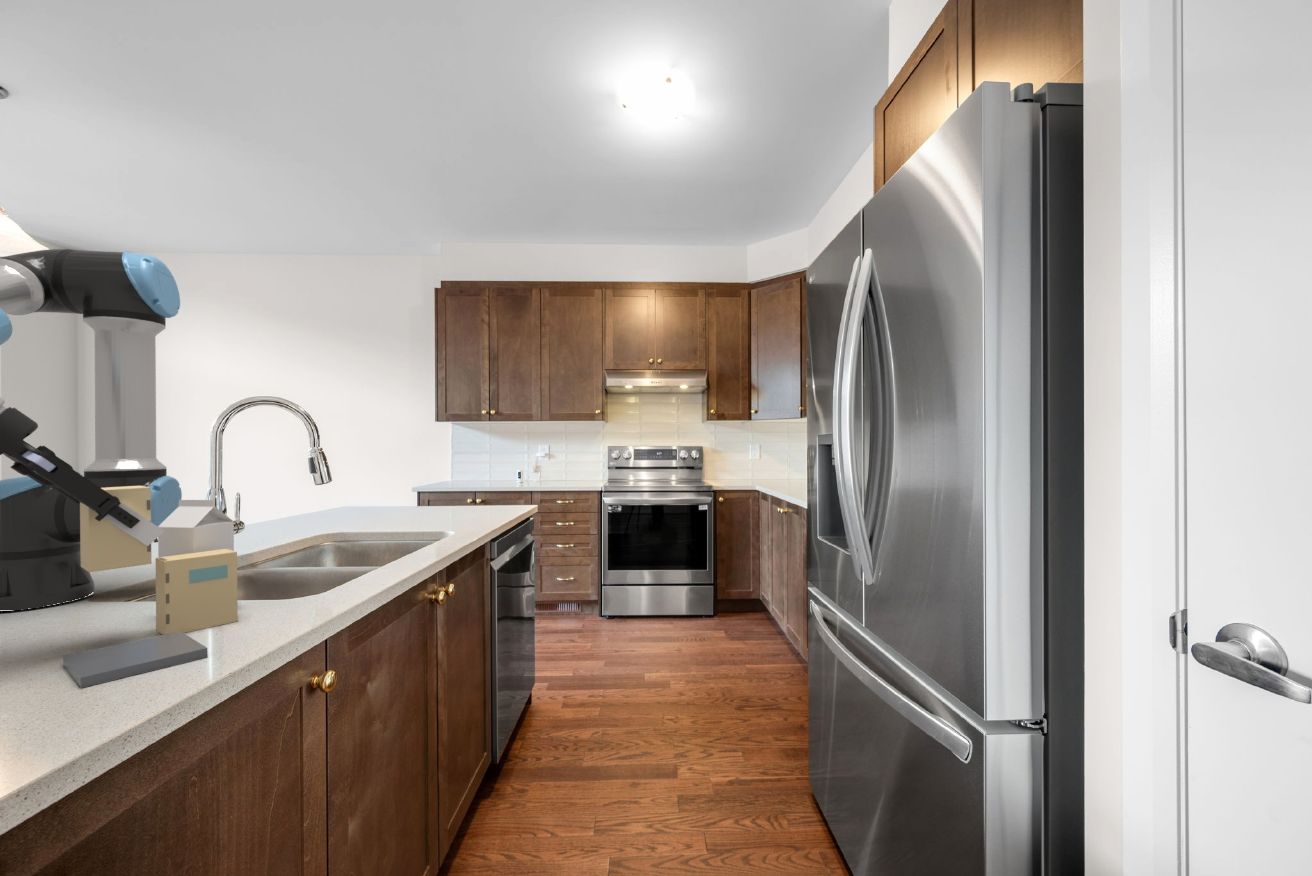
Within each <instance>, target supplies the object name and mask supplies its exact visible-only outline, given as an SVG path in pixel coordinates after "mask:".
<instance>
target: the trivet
mask: <svg viewBox="0 0 1312 876" xmlns="http://www.w3.org/2000/svg"><path fill="white" fill-rule="evenodd" d="M205 658H208V647H207V646H205V645H204V644H202V643H200V642H199V641H197V640H195V639H194V638H192V637H191V636H189V635H188V634H186V633H183V632H181V631H179V632H174V633H170V634H165V635H162V634H161V635H156V636H152V637H145V638H142V639H137V640H132V641H128V642H122V643H117V644H113V645H108V646H103V647H99V648H95V649H90V650H89V649H88V650H84V651H79V652H75V653H70V654H66V655H63V656H62V666H63V667H64V669H65V670H66V671H67V673H68V674H69V675H70V676H71V678H72V679H73V680H74V682H75V683H76V684H77V686H79V688H80V689H84V688H87V687H92V686H95V685H99V684H103V683H106V682H107V683H108V682H112V681H115V680H119V679H124V678H128V677H129V678H130V677H132V676H137V675H140V674H144V673H148V672H149V673H150V672H152V671H156V670H160V669H165V668H168V667H169V668H170V667H173V666H178V665H181V664H185V663H189V662H194V661H198V660H202V659H205Z"/></svg>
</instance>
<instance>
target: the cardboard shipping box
mask: <svg viewBox="0 0 1312 876" xmlns="http://www.w3.org/2000/svg"><path fill="white" fill-rule="evenodd" d="M238 610H239V609H238V552H237V551H235V550H234V551H232V550H229V549H221V550H213V551H205V552H197V553H190V554H182V555H174V556H166V557H155V631H156V632H157V633H159V634H161V635H165V634H170V633H174V632H179V631H181V632H183V633H184V634H186V633H190V632H195V631H198V630H203V629H208V628H213V627H216V626H217V627H218V626H223V625H227V624H232V623H236V622H237V623H238V621H239V620H238V615H239V613H238Z"/></svg>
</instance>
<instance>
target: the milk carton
mask: <svg viewBox="0 0 1312 876" xmlns="http://www.w3.org/2000/svg"><path fill="white" fill-rule="evenodd" d="M158 527H159V528H161V529H162V530H164V532H163V533H162V534H161V535H160V536H159V537H158V538H157V539H158V540H157V541H158V542H157V543H158V545H157V546H158V548H157V549H158V550H157V551H158V553H157V555H158V557H166V556H174V555H182V554H190V553H197V552H205V551H213V550H221V549H229V550H232V551H235V548H234V547H235V546H234V545H235V544H234V543H235V539H234V537H235V536H234V534H235V533H234V529H235V527H234V521H233V519H231V518H230V517H229V516H228V515H226V514H225V513H224V512H222V511H221V510H220V509H219V508H217V507H216V500H215V499H181V500H179V507H178V508H177V509H176V510H175V511H173V512H172V513H171V514H170V515H169V516H168V517H167V518H166V519H165V520H164V521H163V522H162V523H161V524H160V525H159V526H158ZM158 557H157V558H158Z"/></svg>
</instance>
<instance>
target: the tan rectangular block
mask: <svg viewBox="0 0 1312 876" xmlns="http://www.w3.org/2000/svg"><path fill="white" fill-rule="evenodd" d="M102 489H103V490H105V491H106V492H108V493H109V494H111V495H112V496H116V497H117V498H118V499H119V501H120V502H121V503H123V504H125V505H126V506H128V507H129V508H131V509H132V510H134V511H135V512H137V513H138V514H140V515H141V516H143V517H144V518H146V519H147V520H149V521H150V522H151V487H145V486H124V487H106V488H102ZM104 501H105V500H104ZM104 501H103V502H104ZM100 504H101V503H100ZM100 504H99V505H100ZM99 505H98V506H99ZM97 516H98V513H97V512H96V511H94V510H92V509H91V508H89V507H87V506H86V505H84V504H83V503H81V502H80V550H81V567H82V568H83V569H85V570H87V571H88V572H90V573H96V572H102V571H103V572H104V571H109V570H116V569H122V568H123V569H125V568H130V567H136V566H137V567H139V566H145V565H151V564H152V561H153V560H152V543H151V544H150V545H149V546H146V545H144V544H143V543H141V542H140V541H138V540H136V539H135V538H133V537H132V536H130V535H129V534H127V533H125V532H124V531H122V530H121V529H119V528H118V527H116V526H115V525H113V524H111V523H110V522H108V521H107V520H105V519H104V518H103V519H102V520H101V521H98V520H96V519H95V517H97Z"/></svg>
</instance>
